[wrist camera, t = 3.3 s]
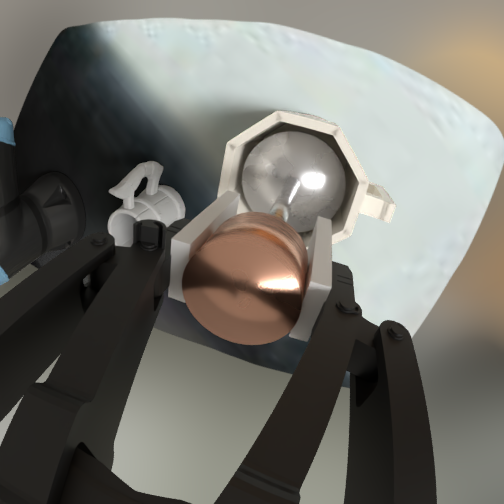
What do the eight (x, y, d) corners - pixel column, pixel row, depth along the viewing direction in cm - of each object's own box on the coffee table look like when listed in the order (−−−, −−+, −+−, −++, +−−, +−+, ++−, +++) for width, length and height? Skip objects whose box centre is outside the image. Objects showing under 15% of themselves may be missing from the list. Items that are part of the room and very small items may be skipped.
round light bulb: (236, 213, 29) (133, 339, 13) (255, 120, 24) (131, 143, 9) (327, 240, 28) (317, 401, 12) (357, 148, 23) (418, 219, 8)
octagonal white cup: (244, 195, 38) (209, 234, 27) (264, 103, 32) (232, 99, 21) (360, 230, 37) (372, 282, 26) (390, 140, 31) (422, 155, 19)
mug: (144, 226, 45) (97, 262, 34) (142, 153, 39) (87, 172, 29) (187, 235, 43) (145, 276, 33) (189, 157, 38) (139, 177, 27)
